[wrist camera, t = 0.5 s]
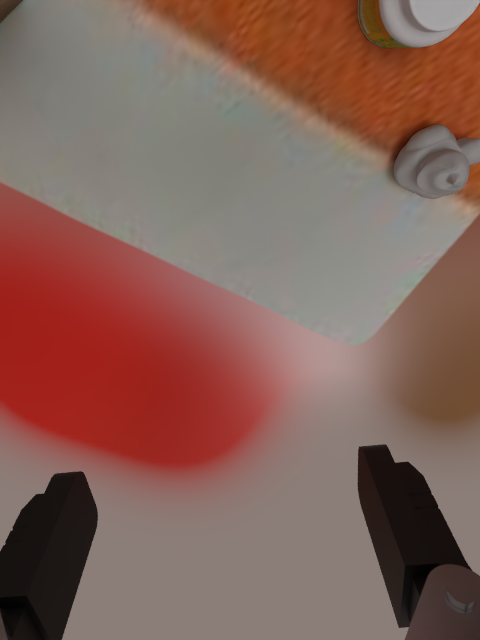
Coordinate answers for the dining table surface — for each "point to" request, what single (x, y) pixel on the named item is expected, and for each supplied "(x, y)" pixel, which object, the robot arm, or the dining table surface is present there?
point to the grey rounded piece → (435, 162)
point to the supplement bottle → (412, 20)
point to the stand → (7, 7)
